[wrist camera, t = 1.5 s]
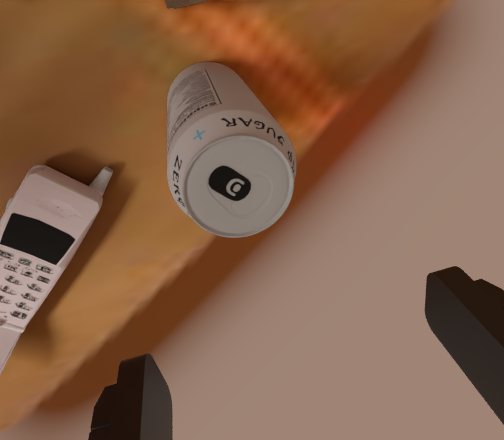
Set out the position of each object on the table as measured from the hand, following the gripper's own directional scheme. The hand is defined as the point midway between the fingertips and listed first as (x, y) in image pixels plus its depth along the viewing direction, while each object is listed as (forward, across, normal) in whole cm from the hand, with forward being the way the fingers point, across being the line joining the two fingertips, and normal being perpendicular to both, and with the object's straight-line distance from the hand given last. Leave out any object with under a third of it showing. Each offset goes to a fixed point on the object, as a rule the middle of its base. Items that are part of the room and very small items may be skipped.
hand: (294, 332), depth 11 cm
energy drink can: (+22, 0, -1) cm, 22 cm away
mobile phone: (+22, +20, +9) cm, 31 cm away
